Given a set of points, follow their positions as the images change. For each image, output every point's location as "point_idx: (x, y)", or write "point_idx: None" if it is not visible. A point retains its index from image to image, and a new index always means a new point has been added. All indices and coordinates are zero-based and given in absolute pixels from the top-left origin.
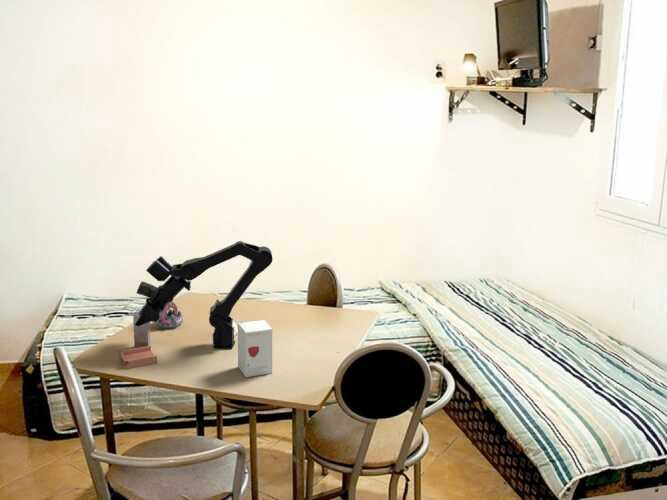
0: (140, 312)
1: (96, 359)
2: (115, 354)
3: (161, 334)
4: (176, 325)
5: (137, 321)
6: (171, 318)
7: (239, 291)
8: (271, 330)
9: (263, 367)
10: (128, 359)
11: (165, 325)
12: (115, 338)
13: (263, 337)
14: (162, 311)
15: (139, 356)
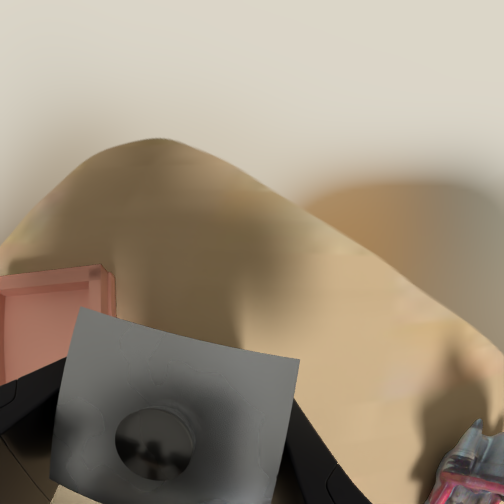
0: (124, 423)
1: (139, 190)
2: (161, 261)
3: (375, 478)
4: None
5: (64, 358)
6: (478, 494)
7: None
8: None
9: None
10: (43, 305)
11: (438, 484)
12: (369, 268)
13: None
14: (494, 483)
15: (55, 359)
